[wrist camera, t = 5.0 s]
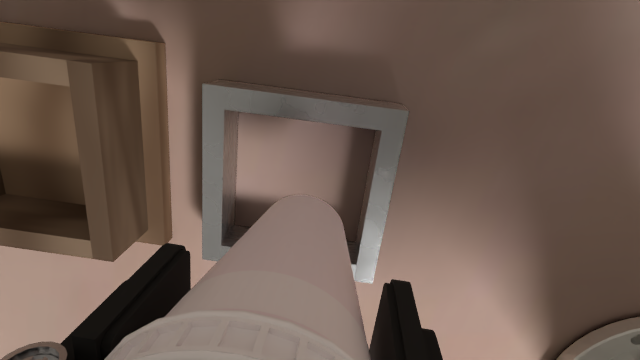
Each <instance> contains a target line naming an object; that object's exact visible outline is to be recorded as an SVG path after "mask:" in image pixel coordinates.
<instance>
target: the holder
mask: <svg viewBox="0 0 640 360" xmlns="http://www.w3.org/2000/svg"><path fill="white" fill-rule="evenodd" d="M239 112H247V113H254V114H262V115H269V116H276V117H284V118H291V119H299V120H306V121H313V122H321V123H328V124H336V125H343V126H350V127H358V128H365V129H373V130H376V132H375V137H374V143H373V148H372V154H371V159H370V165H369V170H368V176H367V181H366V187H365V192H364V198H363V203H362V209H361V214H360V220H359V225H358V231H357V236H356V242H351V241H346V242H347V246H348V251H349V256H350V261H351V266H352V271H353V276H354V281H357V282H364V283H371V284H372V283H373V279H374V274H375V269H376V265H377V260H378V255H379V251H380V246H381V241H382V237H383V232H384V227H385V223H386V218H387V213H388V208H389V204H390V199H391V194H392V190H393V185H394V180H395V176H396V171H397V166H398V162H399V157H400V152H401V148H402V143H403V138H404V134H405V129H406V124H407V119H408V115H409V111H408V110H407V109H406V108H405V107H404V106H403V105H402V104H401V103H393V102H386V101H378V100H371V99H363V98H356V97H348V96H341V95H333V94H325V93H318V92H310V91H303V90H295V89H288V88H280V87H273V86H265V85H258V84H250V83H243V82H235V81H228V80H215V81H211V82H207V83H203V84H202V259H205V260H212V261H219V260H220V259H221V258H222V257H223V256H224V255H225V254H226V253H227V252H228V251H229V250H230V248H231V247H232V246H233V245H234V244H235V243H236V242H237V241H238V240H239V239H240V238H241V237H242V236H243V235H244V234H245V233H246V232H247V231H248V230H249V229H250V228H251V227H245V226H238V225H234V221H235V194H236V167H237V140H238V113H239Z"/></svg>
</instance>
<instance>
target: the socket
mask: <svg viewBox="0 0 640 360" xmlns="http://www.w3.org/2000/svg"><path fill="white" fill-rule="evenodd" d="M171 238H172V218H171V191H170V163H169V136H168V108H167V81H166V53H165V43H160V42H152V41H145V40H137V39H129V38H122V37H114V36H107V35H99V34H91V33H84V32H76V31H69V30H61V29H53V28H46V27H38V26H31V25H23V24H15V23H8V22H0V245H1V246H8V247H15V248H22V249H29V250H36V251H42V252H49V253H56V254H63V255H70V256H77V257H84V258H91V259H97V260H104V261H111V262H114V261H115V260H116V259H117V258H118V257H119V256H120V255H121V254H122V253H123V252H124V251H126V250H127V249H128V248H129V247H130V246H131V245H132V244H133V243H134V242H135V241H136V242H143V243H150V244H157V245H164V244H165V243H168V242H169V241H170V240H171Z"/></svg>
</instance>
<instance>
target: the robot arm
mask: <svg viewBox="0 0 640 360" xmlns="http://www.w3.org/2000/svg"><path fill="white" fill-rule="evenodd" d="M190 290H191V288H190V252H189V251H186V249H185V247H184V246H182V245H176V244H170V243H165V244H164V245H163V246H162V247H161V248H160V249H159V250H158V251H157V252H156V253H155V254H154V255H153V256H152V257H151V258H150V259H149V260H148V261H147V262H145V263H144V264H143V265H142V266H141V267H140V268H139V269H138V270H137V271H136V272H135V273H134V274H133V275H132V276H131V277H130V278H129V279H128V280H127V281H125V282H124V283H122V284H121V285H120V286H119V287H118V288H117V289H116V290H115V291H114V292H113V293H112V294H111V295H110V296H109V297H108V298H107V299H106V300H105V301H104V302H103V303H102V304H101V305H100V306H99V307H98V308H97V309H96V310H95V311H93V312H92V313H91V314H90V315H89V316H88V317H87V318H86V319H85V320H84V321H83V322H82V323H81V324H80V325H79V326H78V327H77V328H76V329H75V330H74V331H73V332H72V333H71V334H70V335H69V336H68V337H67V338H66V339H65V340H64V341H63V342H62V343H61V344H59V343H55V342H38V343H33V344H29V345H26V346H24V347H21V348H18V349H16V350H15V351H13V352H11V353H9V354H7V355H6V356H4V357H3V358H2V359H1V360H104V359H105V358H106V357H107V356H108V355H109V354H110V353H111V352H112V351H113V349H114V348H115V347H116V346H117V345H118V344H119V343H120V342H121V341H122V339H123V338H124V337H125V336H127V335H129V334H131V333H133V332H134V331H136V330H138V329H140V328H142V327H144V326H145V325H147V324H149V323H151V322H153V321H155V320H157V319H159V318H164V317H165V316H166V315H167V314H168V313H169V312H170V311H171V309H172V308H173V307H174V306H175V305H176V304H177V303H178V302H179V301H180V300H181V299H182V298H183V297H184V296H185V295H186V294H187V293H188V292H189V291H190ZM369 353H370V358H371V360H443V359H442V355H441V352H440V348H439V345H438V341H437V338H436V335H435V332H434V331H433V330H429V329H423V328H421V324H420V320H419V316H418V312H417V308H416V304H415V300H414V296H413V292H412V287H411V284H410V282H406V281H400V280H394V279H392V280H391V282H390V284H389V283H385V284H384V286H383V291H382V295H381V300H380V304H379V309H378V313H377V317H376V322H375V326H374V331H373V335H372V340H371V344H370V349H369ZM556 360H640V317H635V318H629V319H625V320H622V321H618V322H615V323H611V324H608V325H606V326H604V327H601V328H599V329H597V330H594V331H592V332H590V333H589V334H587V335H585V336H584V337H582V338H580V339H579V340H577V341H575V342H574V343H573V344H572V345H571V346H569V347H568V348H567V349H566V350H565V351H563V352H562V353H561V355H560V356H559V357H558V358H557V359H556Z"/></svg>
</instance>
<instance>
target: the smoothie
mask: <svg viewBox="0 0 640 360" xmlns="http://www.w3.org/2000/svg"><path fill="white" fill-rule="evenodd" d="M104 360H371V358H370V353H369V348H368V344H367V341H366V336H365V331H364V326H363V321H362V316H361V311H360V306H359V301H358V296H357V291H356V286H355V281H354V276H353V271H352V266H351V261H350V256H349V251H348V246H347V242H346V237H345V232H344V227H343V223H342V220H341V218H340V216H339V215H338V213H337V212H336V211H335V210H334V208H333V207H331V206H330V205H329V204H328V203H326V202H325V201H323V200H321V199H319V198H317V197H314V196H310V195H291V196H287V197H284V198H282V199H280V200H278V201H277V202H275V203H274V204H273V205H272V206H271V207H270V208H269V209H268V210H267V211H266V212H265V213H264V214H263V215H262V216H261V217H260V218H259V219H258V220H257V221H256V222H255V224H254V225H253V226H252V227H251V228H250V229H249V230H248V231H247V232H246V233H245V234H244V235H243V236H242V237H241V238H240V239H239V240H238V241H237V242H236V243H235V244H234V245H233V246H232V247H231V248H230V250H229V251H228V252H227V253H226V254H225V255H224V256H223V257H222V258H221V259H220V260H219V261H218V262H217V263H216V264H215V265H214V266H213V267H212V268H211V269H210V270H209V271H208V272H207V273H206V274H205V276H204V277H203V278H202V279H201V280H200V281H199V282H198V283H197V284H196V285H195V286H194V287H193V288H192V289H191V290H190V291H189V292H188V293H187V294H186V295H185V296H184V297H183V298H182V299H181V300H180V301H179V302H178V303H177V304H176V305H175V306H174V307H173V308H172V309H171V311H170V312H169V313H168V314H167V315H166V316H165V317H164V318H159V319H157V320H155V321H153V322H151V323H149V324H147V325H145V326H144V327H142V328H140V329H138V330H136V331H134V332H133V333H131V334H129V335H127V336H125V337H124V338H123V339H122V341H121V342H120V343H119V344H118V345H117V346H116V347H115V348H114V349H113V351H112V352H111V353H110V354H109V355H108V356H107V357H106V358H105V359H104Z"/></svg>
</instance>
